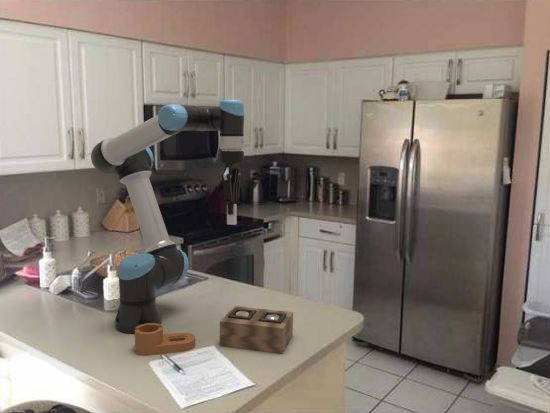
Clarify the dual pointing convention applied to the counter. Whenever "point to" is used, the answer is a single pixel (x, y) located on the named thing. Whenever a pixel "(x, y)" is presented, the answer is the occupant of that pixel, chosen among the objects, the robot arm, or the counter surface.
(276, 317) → the metal peg
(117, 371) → the counter surface
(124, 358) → the counter surface
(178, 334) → the bracket
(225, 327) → the walnut block
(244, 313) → the birch dowel
